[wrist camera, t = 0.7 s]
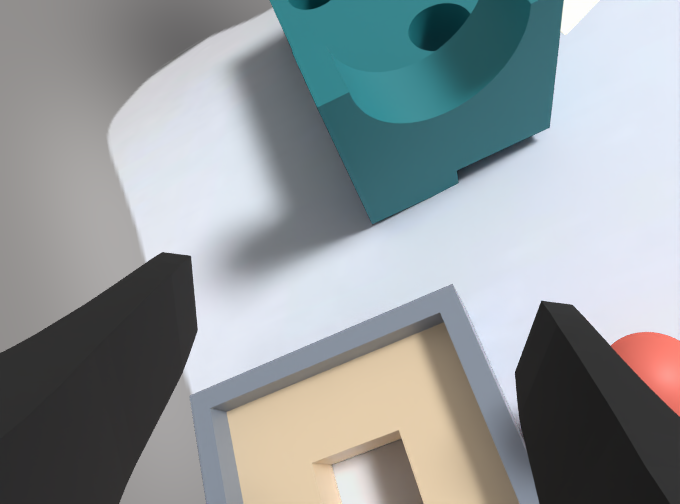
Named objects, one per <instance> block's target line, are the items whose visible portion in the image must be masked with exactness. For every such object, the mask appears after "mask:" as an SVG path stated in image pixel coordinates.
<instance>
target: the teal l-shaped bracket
mask: <svg viewBox="0 0 680 504" xmlns="http://www.w3.org/2000/svg"><path fill="white" fill-rule="evenodd" d="M270 2H271V4H272V7H273V9H274V11H275V13H276V15H277V18H278V20H279V22H280V24H281V26H282V29H283V31H284V33H285V35H286V37H287V40H288V42H289V44H290V46H291V48H292V51H293V52H292V53H293V55H294V58H295V60H296V62H297V64H298V66H299V69H300V71H301V73H302V75H303V77H304V80H305V82H306V84H307V86H308V88H309V91H310V93H311V95H312V97H313V99H314V102H315V104H316V106H317V108H318V110H319V113H320V115H321V117H322V119H323V121H324V123H325V125H326V127H327V129H328V132H329V134H330V136H331V138H332V140H333V142H334V144H335V146H336V149H337V151H338V153H339V155H340V157H341V159H342V161H343V163H344V165H345V168H346V170H347V172H348V174H349V176H350V178H351V180H352V182H353V185H354V187H355V189H356V191H357V193H358V195H359V197H360V199H361V201H362V204H363V206H364V208H365V210H366V212H367V214H368V216H369V218H370V221H371V223H372V224H374V223H376V222H378V221H381V220H383V219H385V218H387V217H389V216H391V215H394V214H396V213H398V212H400V211H402V210H404V209H407V208H409V207H411V206H413V205H415V204H417V203H420V202H422V201H424V200H426V199H428V198H430V197H432V196H434V195H436V194H438V193H440V192H442V191H444V190H446V189H448V188H450V187H452V186H454V185H456V184H457V183H459V182H458V176H457V170H459V169H461V168H464V167H466V166H468V165H470V164H472V163H474V162H476V161H479V160H481V159H483V158H485V157H487V156H489V155H492V154H494V153H496V152H498V151H500V150H502V149H504V148H507V147H509V146H511V145H513V144H515V143H517V142H520V141H522V140H524V139H526V138H528V137H530V136H532V135H535V134H537V133H539V132H541V131H543V130H545V129H548V128H550V119H551V110H552V101H553V93H554V84H555V75H556V66H557V57H558V48H559V39H560V30H561V21H562V13H563V4H564V0H270Z"/></svg>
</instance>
